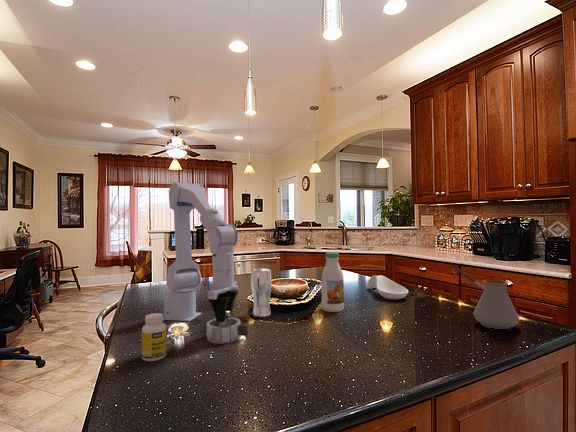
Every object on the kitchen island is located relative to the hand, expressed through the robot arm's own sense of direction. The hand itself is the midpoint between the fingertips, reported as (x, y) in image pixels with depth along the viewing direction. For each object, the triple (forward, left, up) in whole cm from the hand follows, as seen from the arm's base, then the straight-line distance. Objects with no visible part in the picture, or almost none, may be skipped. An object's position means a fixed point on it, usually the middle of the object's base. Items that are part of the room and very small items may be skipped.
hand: (223, 319), depth 89 cm
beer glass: (+4, +22, -5) cm, 23 cm away
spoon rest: (+46, +58, -5) cm, 74 cm away
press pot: (+1, 0, -5) cm, 5 cm away
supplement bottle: (-11, -15, -5) cm, 19 cm away
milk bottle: (+27, +32, -5) cm, 42 cm away
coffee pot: (+73, +28, -5) cm, 78 cm away
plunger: (0, 0, -4) cm, 4 cm away
